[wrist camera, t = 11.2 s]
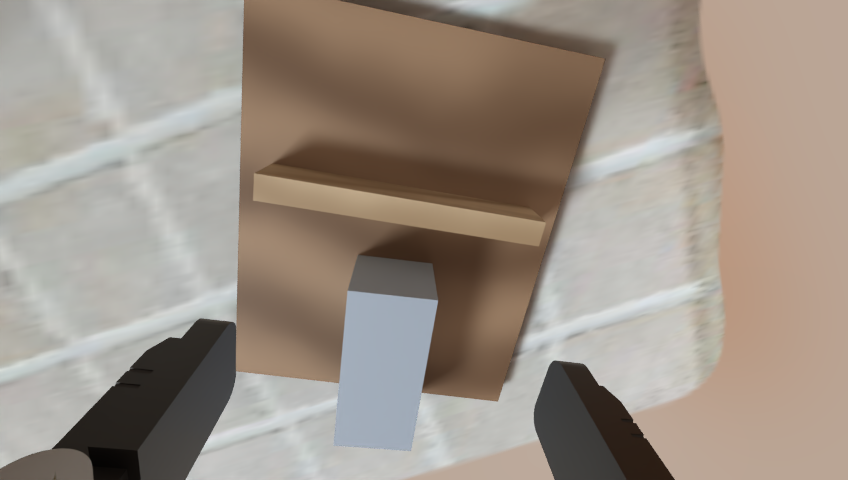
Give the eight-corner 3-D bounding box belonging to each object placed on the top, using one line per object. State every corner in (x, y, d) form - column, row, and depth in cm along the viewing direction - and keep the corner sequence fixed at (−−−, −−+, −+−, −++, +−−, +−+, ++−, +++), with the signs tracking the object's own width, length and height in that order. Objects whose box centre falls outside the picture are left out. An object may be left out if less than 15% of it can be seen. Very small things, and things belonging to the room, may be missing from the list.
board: (255, -13, 17) (217, -39, 14) (593, 60, 19) (635, 53, 16) (243, 358, 24) (216, 402, 21) (493, 388, 26) (507, 433, 22)
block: (347, 290, 17) (333, 447, 20) (438, 300, 17) (410, 453, 21) (357, 254, 21) (344, 392, 24) (432, 263, 21) (409, 397, 24)
